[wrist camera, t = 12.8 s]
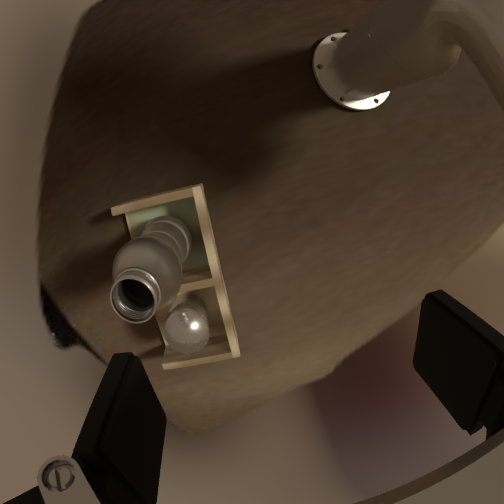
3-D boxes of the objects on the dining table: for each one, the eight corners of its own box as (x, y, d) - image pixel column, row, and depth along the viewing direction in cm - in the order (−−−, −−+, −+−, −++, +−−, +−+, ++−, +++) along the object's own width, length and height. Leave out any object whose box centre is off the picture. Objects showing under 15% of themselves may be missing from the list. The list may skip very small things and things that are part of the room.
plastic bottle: (155, 267, 40) (114, 348, 21) (139, 220, 38) (78, 269, 19) (199, 254, 40) (190, 331, 21) (184, 205, 38) (157, 244, 19)
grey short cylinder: (163, 299, 41) (157, 319, 35) (200, 288, 42) (201, 308, 35) (176, 333, 43) (173, 358, 36) (212, 323, 43) (215, 347, 37)
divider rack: (124, 202, 38) (110, 208, 33) (202, 183, 39) (200, 185, 33) (168, 347, 45) (163, 369, 39) (236, 334, 46) (240, 356, 40)
